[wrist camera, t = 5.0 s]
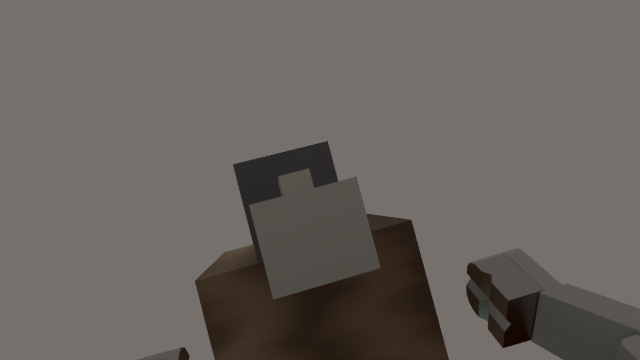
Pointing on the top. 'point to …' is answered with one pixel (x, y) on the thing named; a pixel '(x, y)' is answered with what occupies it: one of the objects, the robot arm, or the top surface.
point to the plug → (305, 219)
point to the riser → (326, 308)
